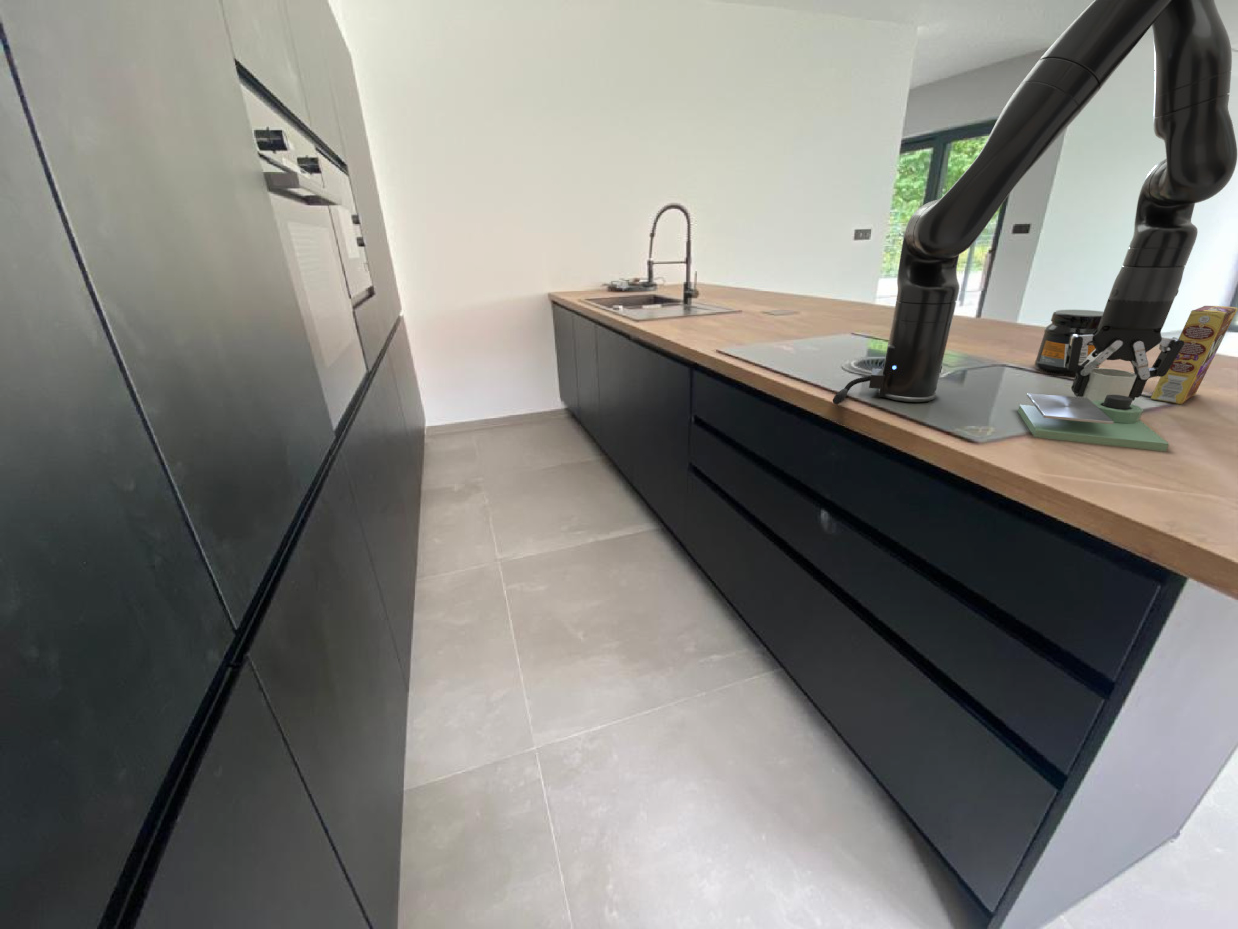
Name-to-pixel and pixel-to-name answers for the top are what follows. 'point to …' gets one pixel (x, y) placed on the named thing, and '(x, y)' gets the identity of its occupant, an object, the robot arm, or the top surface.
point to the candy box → (1194, 353)
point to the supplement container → (1066, 339)
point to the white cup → (1108, 383)
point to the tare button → (1117, 402)
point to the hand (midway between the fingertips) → (1102, 397)
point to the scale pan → (1068, 408)
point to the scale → (1096, 428)
